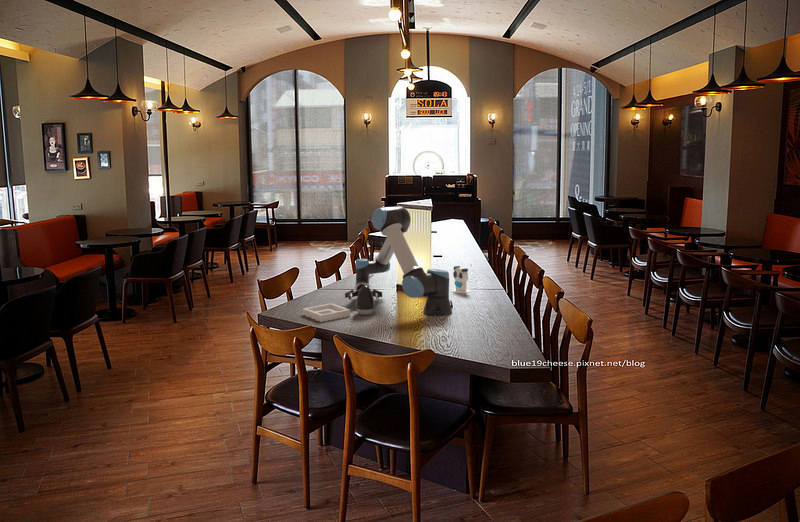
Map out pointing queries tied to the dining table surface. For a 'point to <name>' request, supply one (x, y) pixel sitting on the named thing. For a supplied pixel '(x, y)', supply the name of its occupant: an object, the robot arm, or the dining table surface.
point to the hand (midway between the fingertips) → (364, 298)
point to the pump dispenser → (365, 301)
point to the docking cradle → (326, 312)
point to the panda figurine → (460, 279)
